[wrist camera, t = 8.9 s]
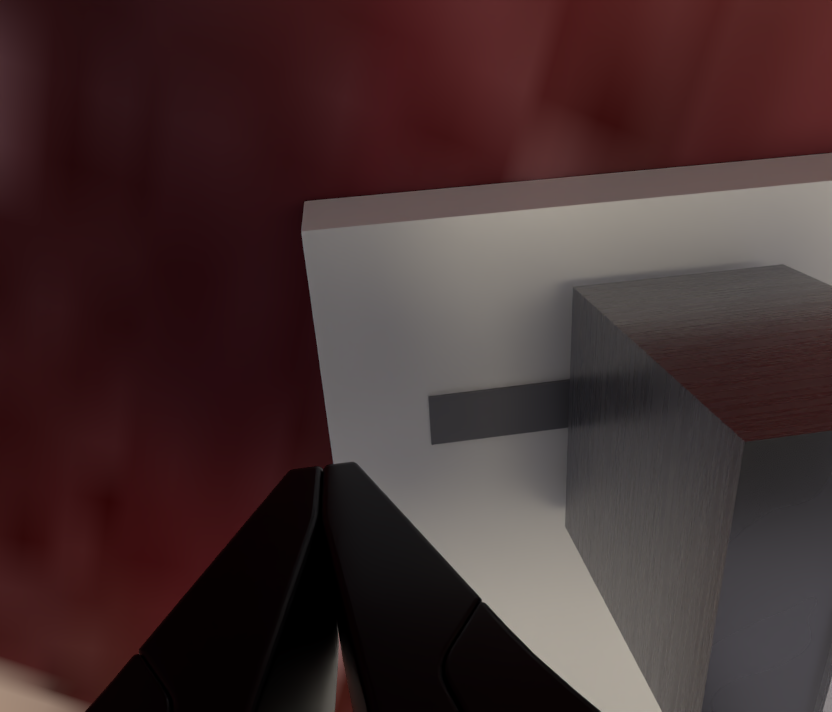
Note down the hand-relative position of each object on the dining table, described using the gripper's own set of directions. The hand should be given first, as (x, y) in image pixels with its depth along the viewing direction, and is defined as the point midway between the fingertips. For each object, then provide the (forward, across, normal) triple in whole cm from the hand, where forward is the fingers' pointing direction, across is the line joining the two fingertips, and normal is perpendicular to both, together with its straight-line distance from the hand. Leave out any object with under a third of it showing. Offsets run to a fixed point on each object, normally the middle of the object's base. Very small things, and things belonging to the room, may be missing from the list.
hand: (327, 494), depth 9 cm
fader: (+1, -5, 0) cm, 5 cm away
